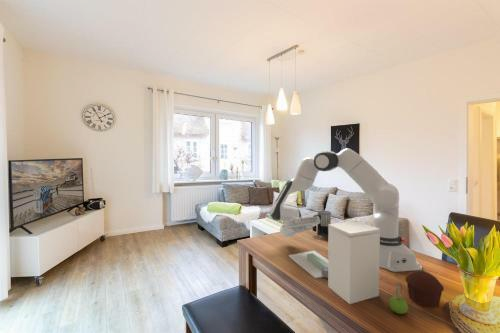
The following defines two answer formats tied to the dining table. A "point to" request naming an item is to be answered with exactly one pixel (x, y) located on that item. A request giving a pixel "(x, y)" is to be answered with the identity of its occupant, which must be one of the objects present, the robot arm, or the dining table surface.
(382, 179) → the robot arm
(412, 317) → the dining table surface
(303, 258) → the mat
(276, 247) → the dining table surface
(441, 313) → the dining table surface
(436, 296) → the muffin
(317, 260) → the t-shaped bar
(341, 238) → the tall white box
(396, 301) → the green rounded piece
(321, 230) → the milk frother
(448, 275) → the dining table surface
